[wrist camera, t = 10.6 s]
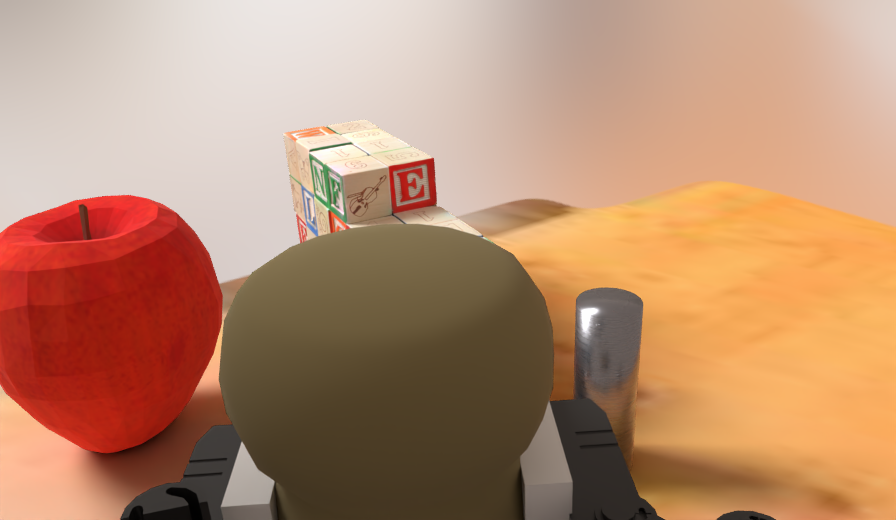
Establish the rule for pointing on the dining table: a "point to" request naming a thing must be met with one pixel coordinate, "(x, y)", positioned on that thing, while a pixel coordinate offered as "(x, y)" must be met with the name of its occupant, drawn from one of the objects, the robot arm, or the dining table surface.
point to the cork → (389, 374)
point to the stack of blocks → (361, 180)
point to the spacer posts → (609, 358)
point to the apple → (105, 318)
